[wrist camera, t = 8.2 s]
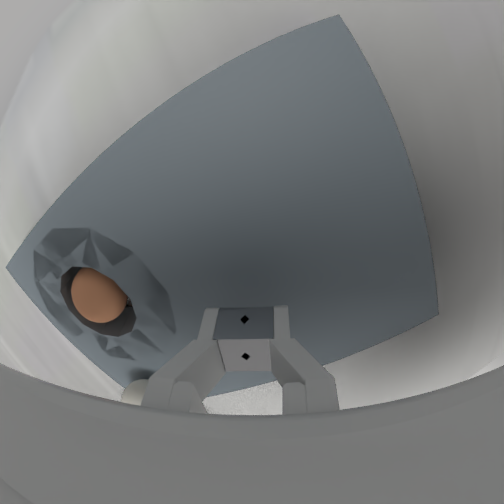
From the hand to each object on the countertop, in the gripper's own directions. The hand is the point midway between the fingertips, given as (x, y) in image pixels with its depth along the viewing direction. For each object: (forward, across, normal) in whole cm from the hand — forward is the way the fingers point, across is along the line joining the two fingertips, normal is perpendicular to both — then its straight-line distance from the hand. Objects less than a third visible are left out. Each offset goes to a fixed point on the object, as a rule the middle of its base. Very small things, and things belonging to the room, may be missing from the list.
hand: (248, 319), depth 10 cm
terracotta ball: (+2, +8, 0) cm, 8 cm away
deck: (+4, +2, 0) cm, 5 cm away
